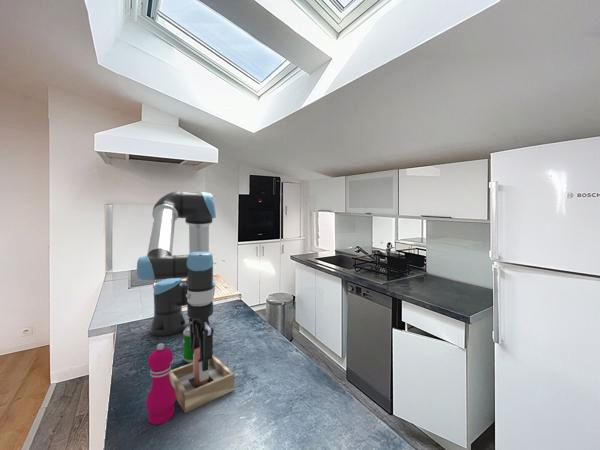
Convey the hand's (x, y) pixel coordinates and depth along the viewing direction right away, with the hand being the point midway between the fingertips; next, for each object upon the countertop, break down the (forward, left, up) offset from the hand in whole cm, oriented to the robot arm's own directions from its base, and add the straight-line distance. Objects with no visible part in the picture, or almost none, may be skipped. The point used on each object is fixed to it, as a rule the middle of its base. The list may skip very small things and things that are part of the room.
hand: (201, 376), depth 86 cm
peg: (0, 0, -4) cm, 4 cm away
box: (0, 0, -4) cm, 4 cm away
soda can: (-19, +5, -4) cm, 20 cm away
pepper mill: (+4, -13, -4) cm, 14 cm away
